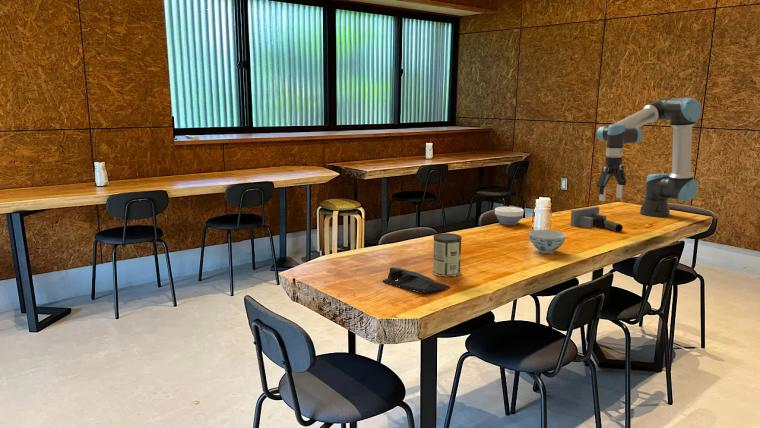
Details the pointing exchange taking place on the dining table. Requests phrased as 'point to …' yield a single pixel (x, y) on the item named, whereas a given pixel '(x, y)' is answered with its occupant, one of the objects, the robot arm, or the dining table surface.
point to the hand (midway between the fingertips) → (610, 199)
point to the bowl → (509, 215)
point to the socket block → (585, 216)
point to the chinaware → (547, 240)
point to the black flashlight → (606, 224)
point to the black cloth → (413, 281)
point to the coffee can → (447, 254)
